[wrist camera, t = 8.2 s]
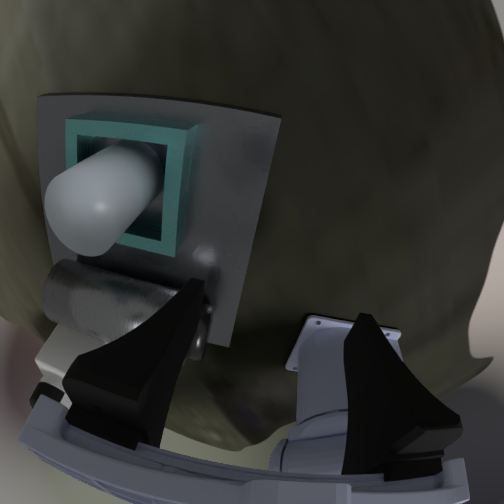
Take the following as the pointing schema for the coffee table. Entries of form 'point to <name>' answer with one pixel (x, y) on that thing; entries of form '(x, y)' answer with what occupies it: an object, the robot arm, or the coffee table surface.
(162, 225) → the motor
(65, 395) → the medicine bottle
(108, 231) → the white rounded cylinder
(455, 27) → the coffee table surface
